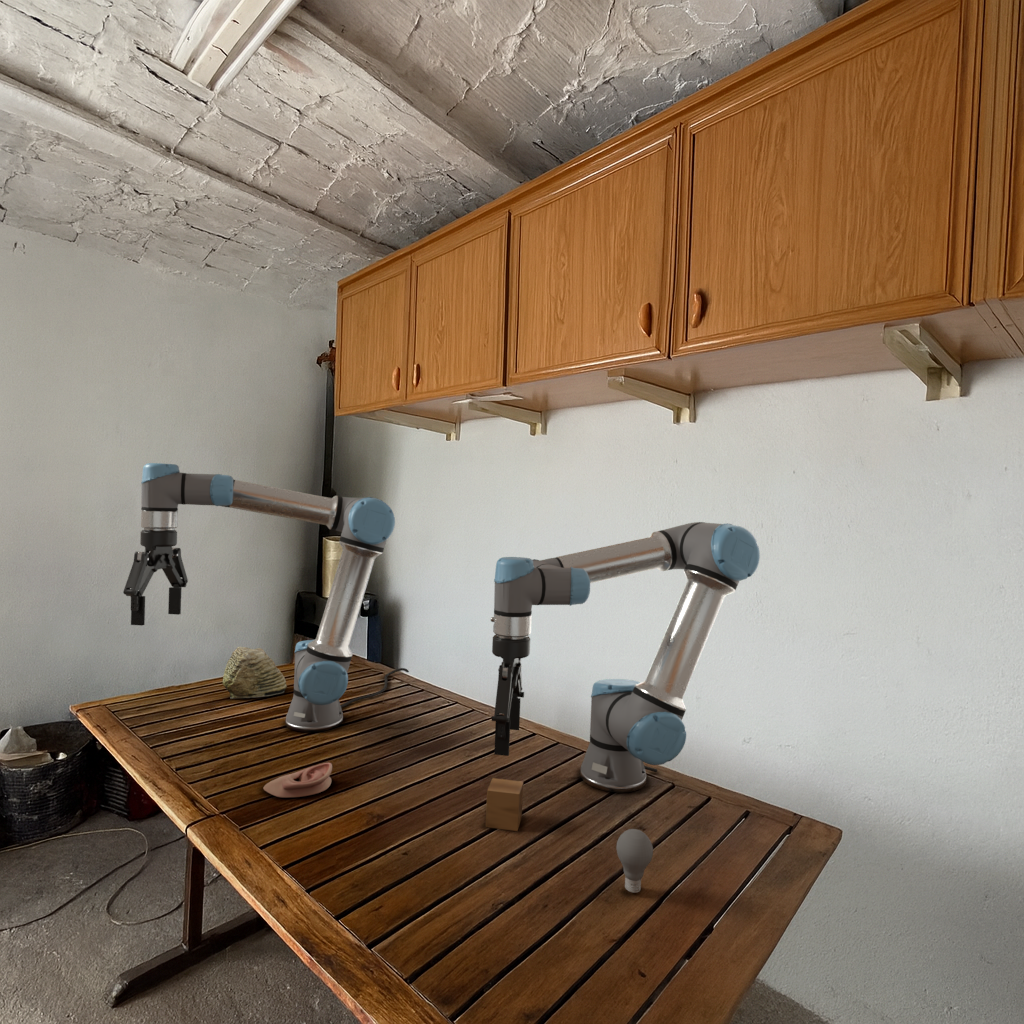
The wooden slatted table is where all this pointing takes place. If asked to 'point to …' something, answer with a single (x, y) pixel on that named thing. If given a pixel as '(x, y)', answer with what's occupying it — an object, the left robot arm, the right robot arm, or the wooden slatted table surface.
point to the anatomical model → (301, 782)
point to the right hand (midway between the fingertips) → (507, 741)
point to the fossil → (252, 674)
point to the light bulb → (634, 857)
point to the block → (504, 804)
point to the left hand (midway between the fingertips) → (156, 619)
